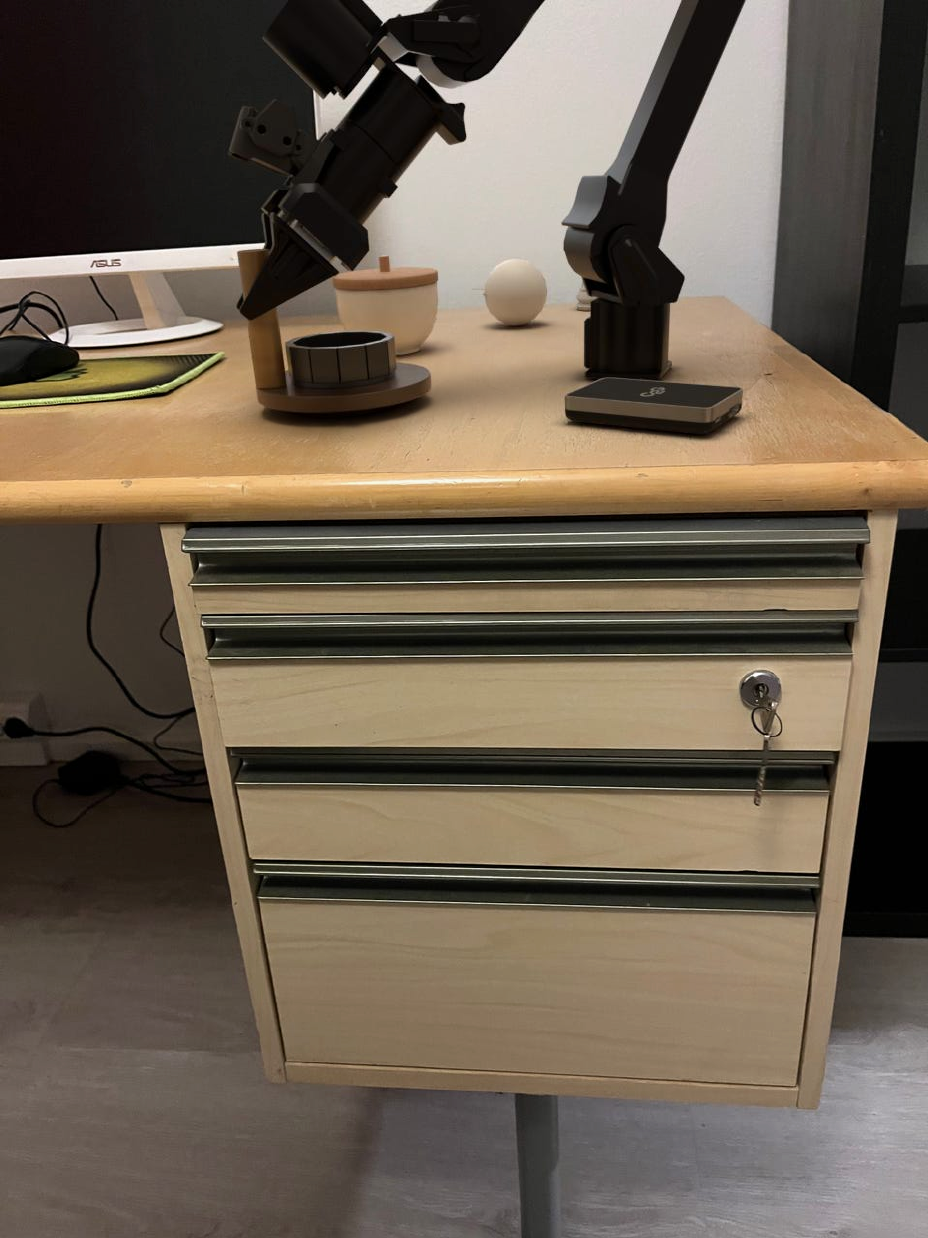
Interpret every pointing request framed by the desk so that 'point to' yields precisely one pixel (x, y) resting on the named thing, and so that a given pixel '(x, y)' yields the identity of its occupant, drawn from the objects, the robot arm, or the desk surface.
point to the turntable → (325, 363)
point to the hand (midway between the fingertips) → (242, 313)
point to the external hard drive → (654, 404)
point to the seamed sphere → (515, 292)
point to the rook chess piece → (584, 299)
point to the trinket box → (389, 302)
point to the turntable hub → (347, 412)
